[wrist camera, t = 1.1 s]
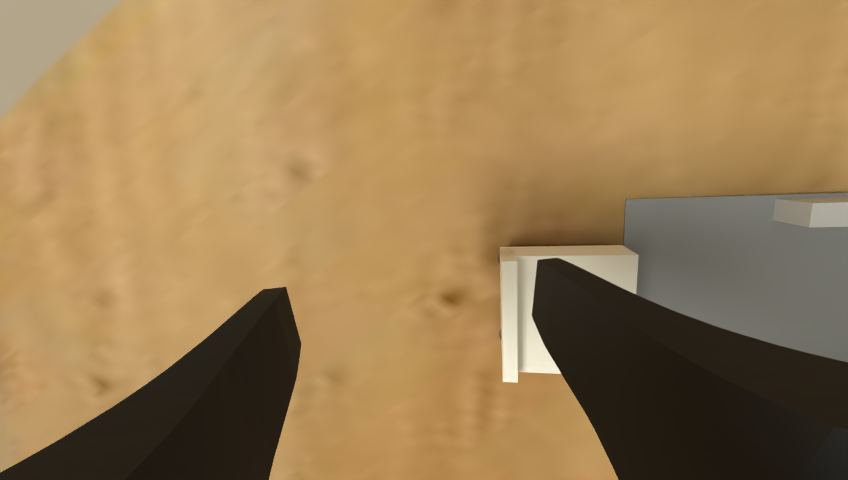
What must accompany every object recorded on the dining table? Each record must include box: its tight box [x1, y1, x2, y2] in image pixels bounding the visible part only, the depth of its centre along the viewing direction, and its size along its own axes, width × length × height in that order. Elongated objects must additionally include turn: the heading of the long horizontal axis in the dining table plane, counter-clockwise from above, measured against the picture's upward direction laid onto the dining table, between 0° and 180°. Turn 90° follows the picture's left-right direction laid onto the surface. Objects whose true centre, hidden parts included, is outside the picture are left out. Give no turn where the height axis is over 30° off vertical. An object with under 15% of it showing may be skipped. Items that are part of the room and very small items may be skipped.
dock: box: [623, 192, 848, 362], centre depth 20 cm, size 12×18×5 cm
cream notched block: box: [498, 245, 639, 383], centre depth 21 cm, size 7×7×5 cm
